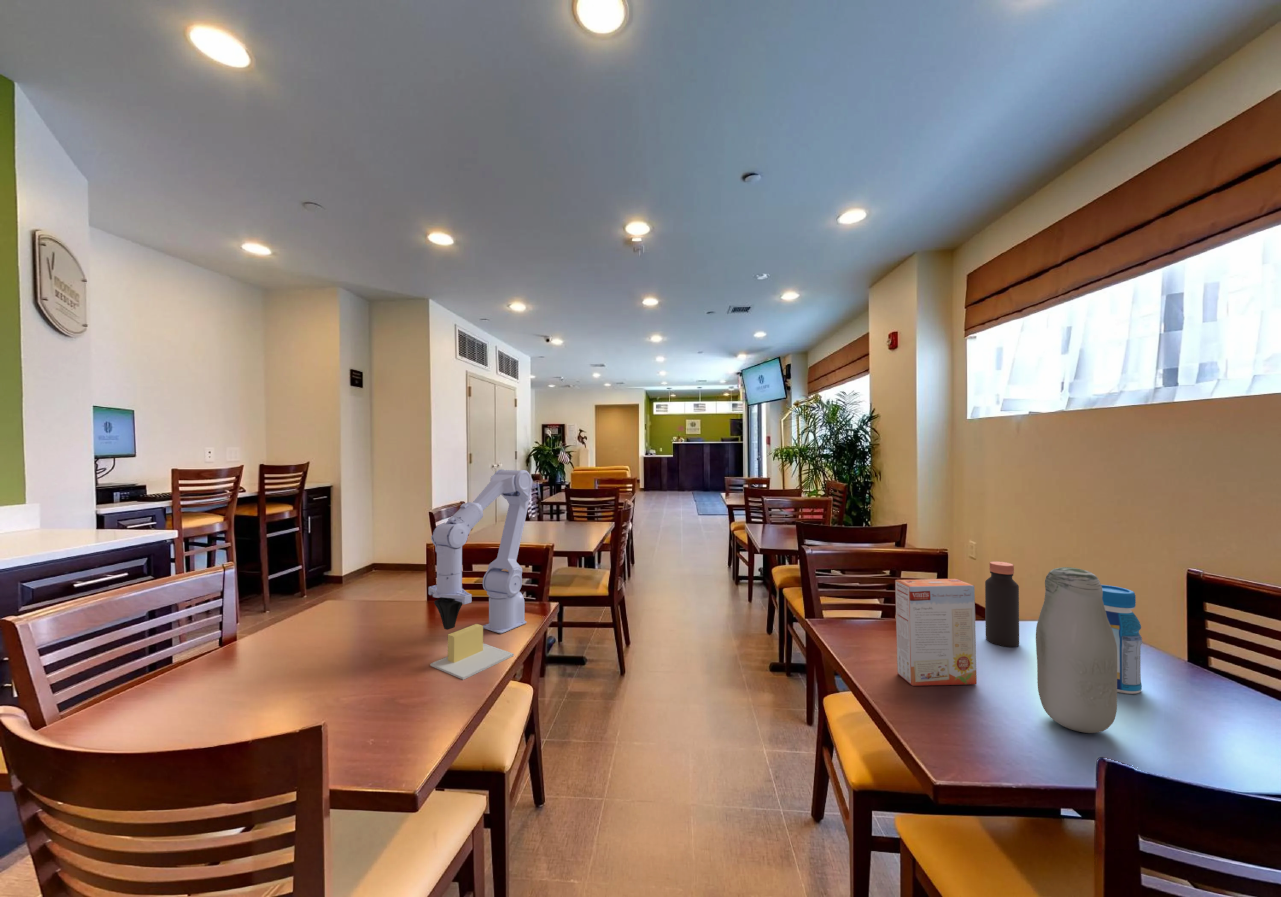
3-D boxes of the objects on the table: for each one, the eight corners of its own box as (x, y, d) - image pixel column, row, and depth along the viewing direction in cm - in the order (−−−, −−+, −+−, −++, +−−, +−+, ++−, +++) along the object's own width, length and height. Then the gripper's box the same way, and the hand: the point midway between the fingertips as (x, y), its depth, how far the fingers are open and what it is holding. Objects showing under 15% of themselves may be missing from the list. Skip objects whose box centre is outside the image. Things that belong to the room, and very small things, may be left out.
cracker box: (957, 672, 102) (956, 577, 103) (978, 686, 96) (977, 585, 97) (894, 673, 102) (894, 577, 102) (911, 686, 96) (910, 585, 96)
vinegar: (1026, 647, 115) (1025, 566, 115) (998, 647, 115) (997, 566, 115) (1005, 636, 122) (1004, 560, 122) (979, 636, 122) (978, 560, 122)
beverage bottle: (1150, 699, 91) (1149, 597, 91) (1091, 688, 95) (1090, 590, 95) (1133, 681, 98) (1132, 586, 98) (1079, 671, 102) (1078, 581, 103)
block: (476, 648, 115) (476, 623, 115) (483, 650, 114) (483, 625, 114) (447, 660, 108) (447, 634, 108) (454, 662, 107) (454, 636, 107)
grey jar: (1074, 710, 87) (1072, 561, 87) (1134, 744, 77) (1132, 575, 77) (1023, 711, 87) (1021, 561, 87) (1076, 746, 77) (1074, 576, 77)
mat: (481, 644, 118) (481, 642, 118) (513, 655, 112) (513, 653, 112) (430, 665, 106) (430, 663, 106) (463, 679, 100) (463, 677, 100)
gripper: (417, 571, 115) (416, 627, 115) (453, 580, 107) (453, 640, 107) (442, 566, 121) (442, 618, 120) (479, 574, 113) (478, 630, 112)
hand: (449, 628), depth 114 cm, fingers closed
